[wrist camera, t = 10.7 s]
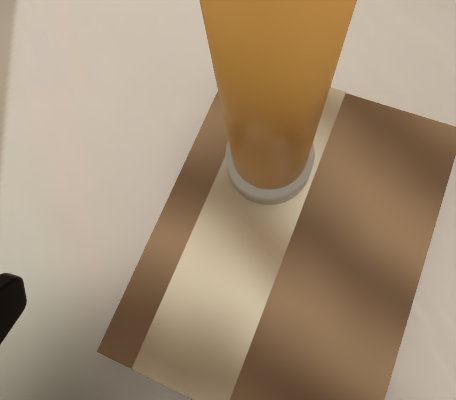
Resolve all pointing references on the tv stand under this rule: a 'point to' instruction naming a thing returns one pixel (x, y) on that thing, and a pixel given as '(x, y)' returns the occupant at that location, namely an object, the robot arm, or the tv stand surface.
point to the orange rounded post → (273, 86)
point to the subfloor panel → (289, 264)
